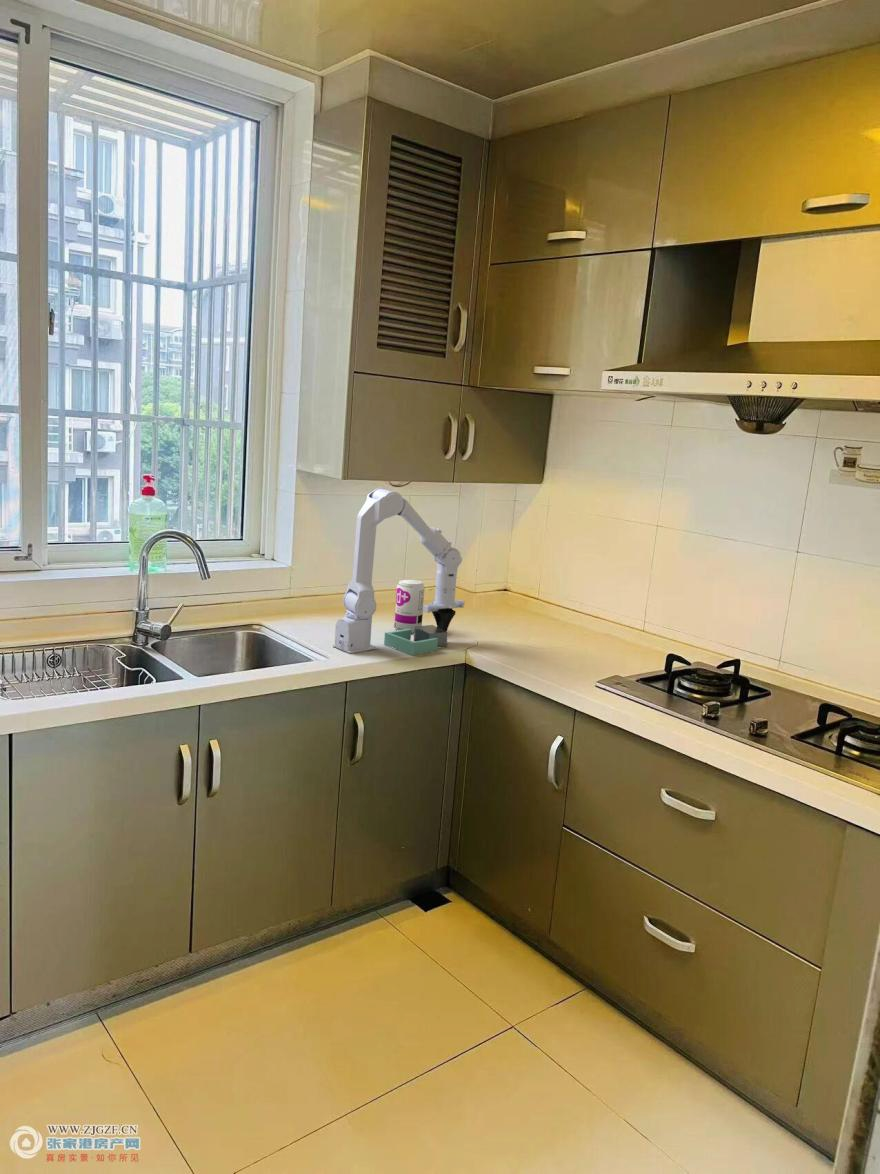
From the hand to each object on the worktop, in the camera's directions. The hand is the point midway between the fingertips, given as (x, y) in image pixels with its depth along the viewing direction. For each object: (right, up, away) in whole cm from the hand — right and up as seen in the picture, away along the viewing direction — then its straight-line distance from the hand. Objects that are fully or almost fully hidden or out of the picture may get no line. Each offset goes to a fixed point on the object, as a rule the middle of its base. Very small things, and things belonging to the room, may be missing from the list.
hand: (441, 634), depth 253 cm
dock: (-9, -3, -8) cm, 12 cm away
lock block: (-3, -3, -3) cm, 5 cm away
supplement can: (-10, 0, +11) cm, 15 cm away
